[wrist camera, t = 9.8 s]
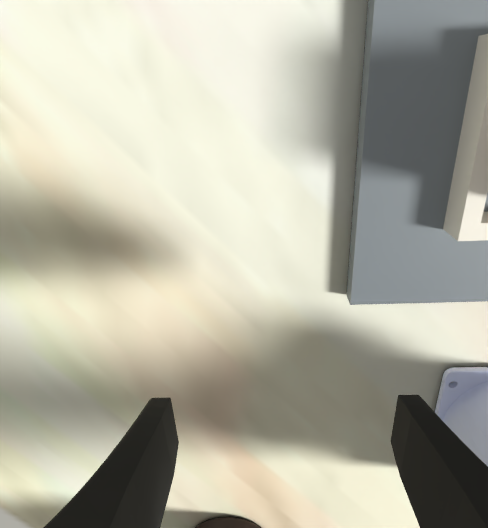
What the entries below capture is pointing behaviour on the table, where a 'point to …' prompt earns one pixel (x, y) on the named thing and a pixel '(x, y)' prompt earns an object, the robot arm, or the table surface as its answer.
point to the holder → (422, 155)
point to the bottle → (227, 523)
